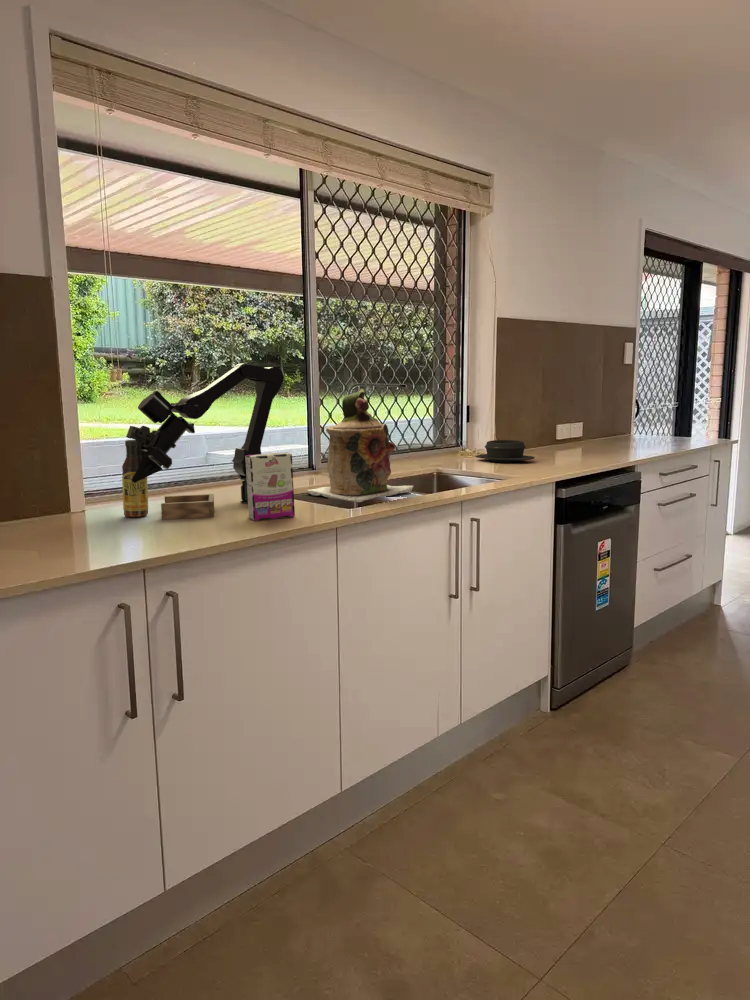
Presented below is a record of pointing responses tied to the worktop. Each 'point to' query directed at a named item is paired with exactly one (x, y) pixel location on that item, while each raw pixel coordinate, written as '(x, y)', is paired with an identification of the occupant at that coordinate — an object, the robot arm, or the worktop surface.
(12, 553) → the worktop surface
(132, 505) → the sauce bottle
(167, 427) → the robot arm
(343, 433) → the cookie jar
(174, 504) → the box
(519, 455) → the casserole
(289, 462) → the candy bar box
